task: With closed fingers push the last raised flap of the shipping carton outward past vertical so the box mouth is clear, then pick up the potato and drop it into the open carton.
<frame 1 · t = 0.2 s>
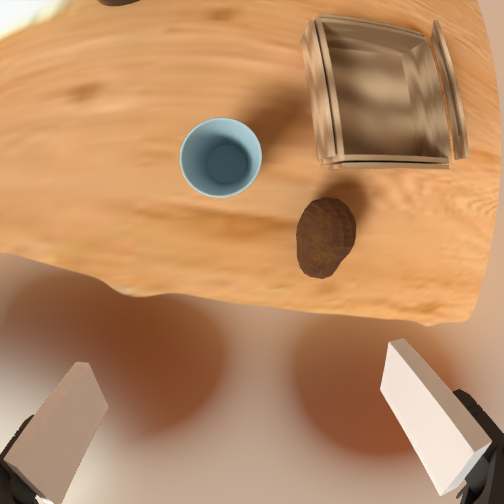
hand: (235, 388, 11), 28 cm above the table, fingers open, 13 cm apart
carton: (366, 102, 33), on the table
cup: (227, 164, 35), on the table
potato: (317, 232, 38), on the table
flap: (450, 89, 23), point 11 cm above the table, hinge at 30.0°
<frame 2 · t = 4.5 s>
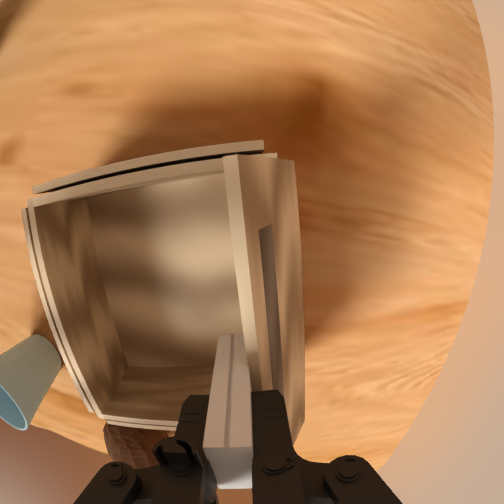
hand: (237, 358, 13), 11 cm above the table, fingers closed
carton: (181, 282, 24), on the table
cup: (45, 352, 26), on the table
potato: (144, 421, 28), on the table
flap: (282, 348, 13), point 11 cm above the table, hinge at 25.5°, touching gripper
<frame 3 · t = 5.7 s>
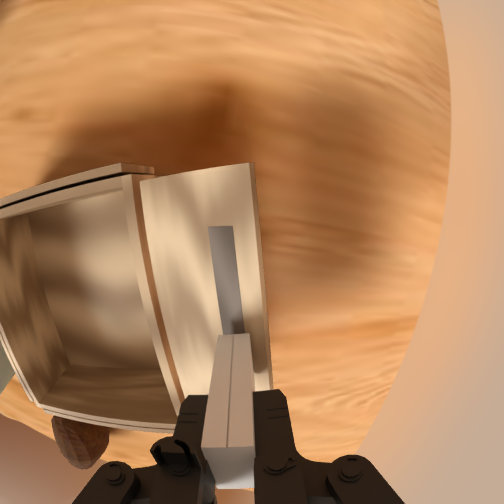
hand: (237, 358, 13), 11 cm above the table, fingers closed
carton: (103, 289, 24), on the table
cup: (9, 348, 26), on the table
potato: (92, 417, 28), on the table
flap: (213, 341, 14), point 10 cm above the table, hinge at -65.8°
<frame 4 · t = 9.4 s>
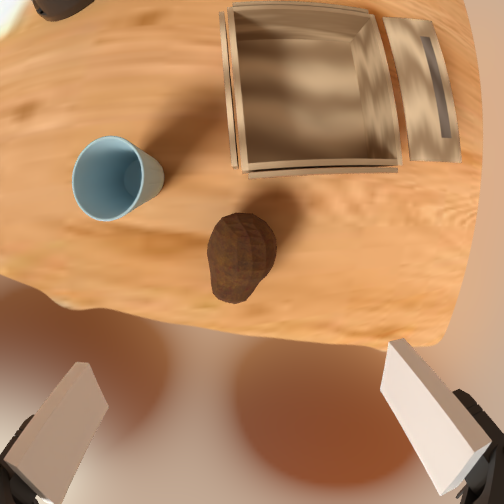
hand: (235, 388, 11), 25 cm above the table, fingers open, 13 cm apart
carton: (302, 97, 30), on the table
cup: (144, 178, 32), on the table
potato: (241, 249, 35), on the table
flap: (425, 83, 21), point 9 cm above the table, hinge at -69.1°
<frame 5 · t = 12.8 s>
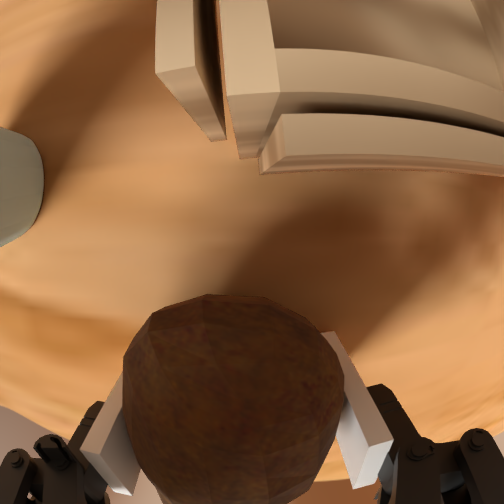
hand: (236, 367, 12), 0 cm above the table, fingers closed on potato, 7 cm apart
cup: (13, 185, 11), on the table
potato: (232, 356, 13), on the table, touching gripper
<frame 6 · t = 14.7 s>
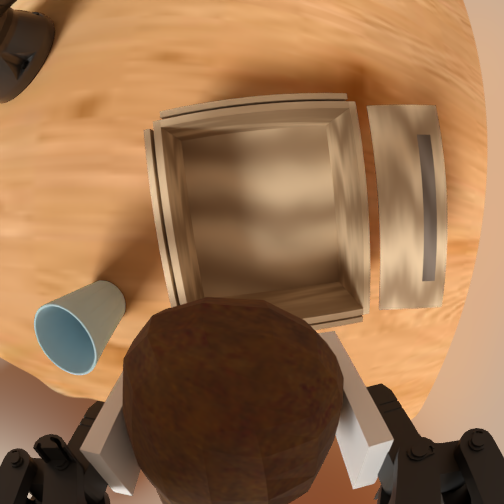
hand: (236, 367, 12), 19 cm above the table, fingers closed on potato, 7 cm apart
carton: (263, 211, 29), on the table
cup: (107, 300, 31), on the table
potato: (232, 358, 13), point 18 cm above the table, touching gripper
flap: (413, 209, 20), point 9 cm above the table, hinge at -69.1°
when the fingers open (8 cm above the table, at t = 16.7 s): potato drops 7 cm, resting on carton.
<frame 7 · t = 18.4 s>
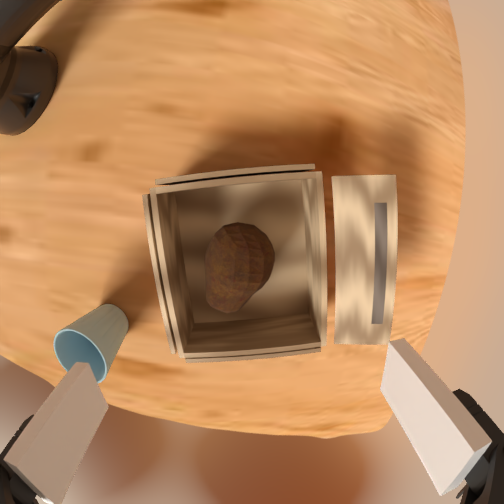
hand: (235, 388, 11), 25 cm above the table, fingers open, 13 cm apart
carton: (244, 254, 35), on the table
cup: (112, 320, 37), on the table
potato: (238, 258, 34), resting on carton
flap: (366, 266, 26), point 9 cm above the table, hinge at -69.1°
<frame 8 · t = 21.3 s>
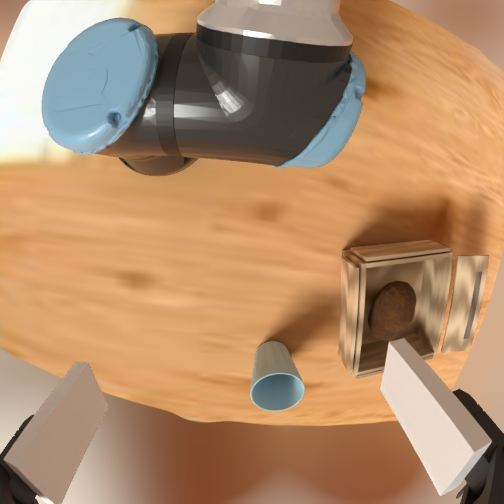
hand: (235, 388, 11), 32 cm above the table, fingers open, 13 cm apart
carton: (384, 296, 44), on the table
cup: (271, 353, 46), on the table
potato: (382, 300, 44), resting on carton
flap: (466, 306, 35), point 9 cm above the table, hinge at -69.1°
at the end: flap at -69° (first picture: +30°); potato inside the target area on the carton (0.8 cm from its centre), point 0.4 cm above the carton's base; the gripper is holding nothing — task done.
